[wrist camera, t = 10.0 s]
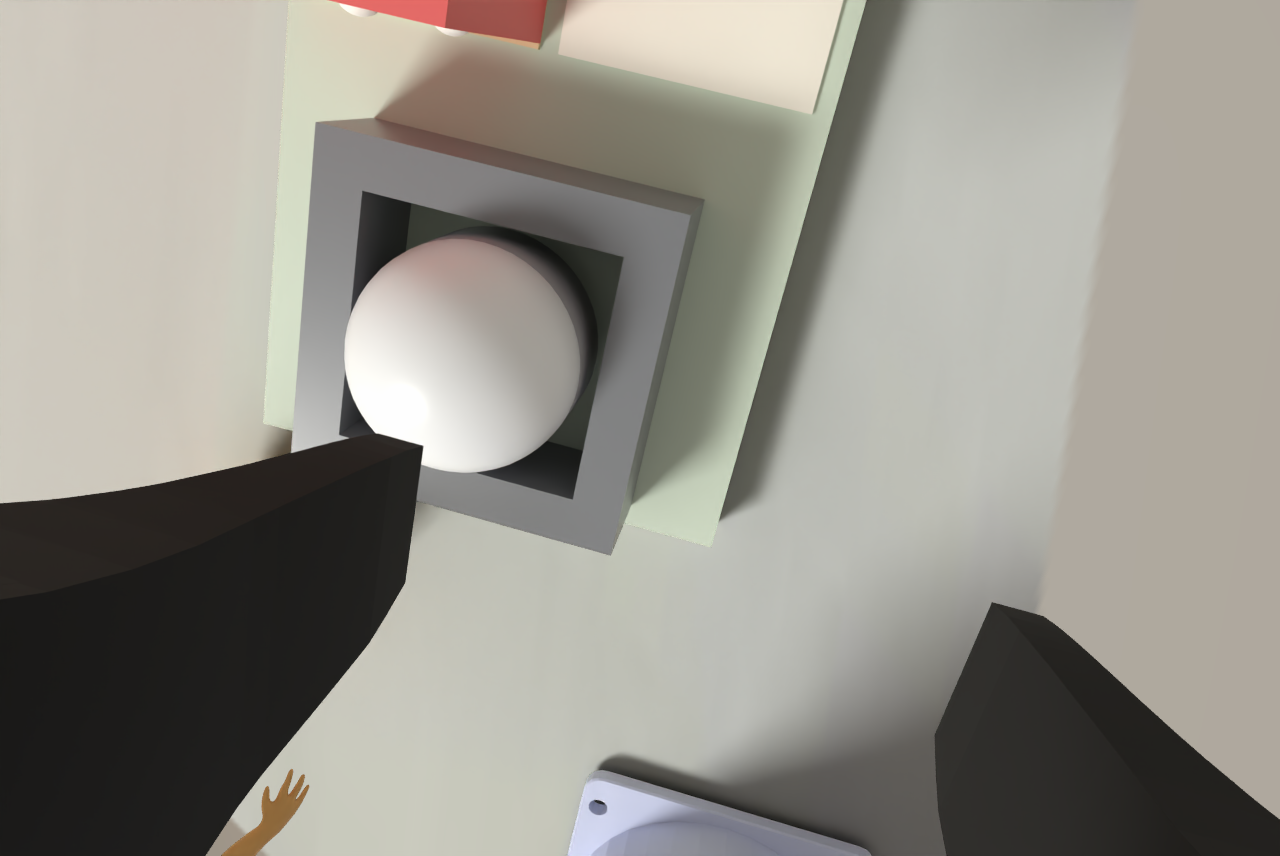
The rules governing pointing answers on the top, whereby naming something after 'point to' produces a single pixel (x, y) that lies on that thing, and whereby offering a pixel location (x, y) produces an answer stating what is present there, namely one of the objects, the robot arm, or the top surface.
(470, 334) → the white ball
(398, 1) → the die
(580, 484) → the housing
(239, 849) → the figurine
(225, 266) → the top surface
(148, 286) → the top surface
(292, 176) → the board
